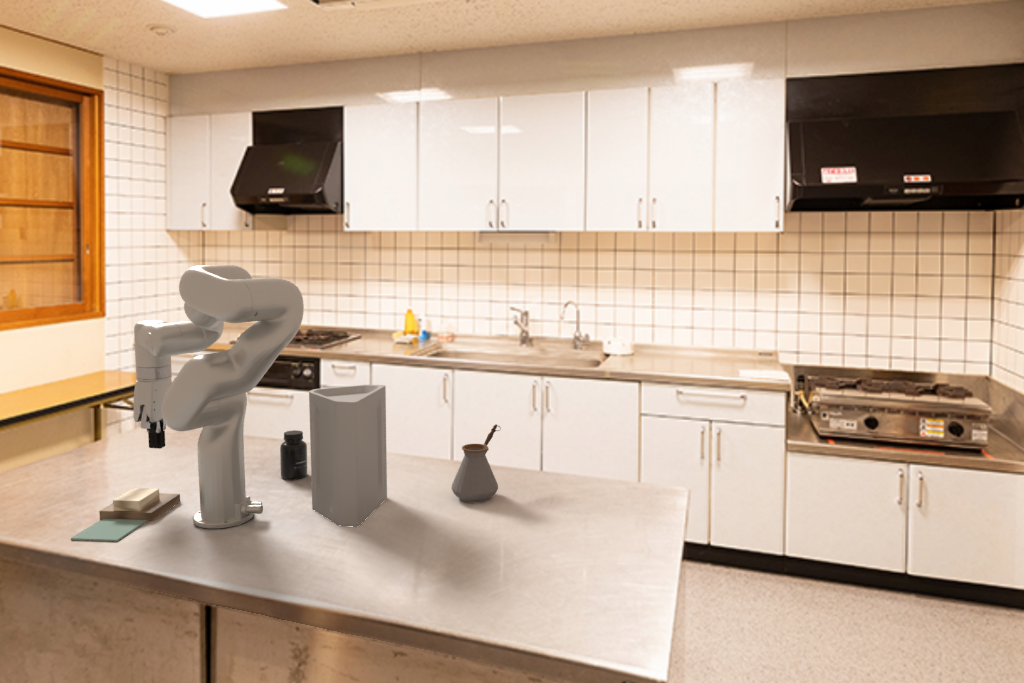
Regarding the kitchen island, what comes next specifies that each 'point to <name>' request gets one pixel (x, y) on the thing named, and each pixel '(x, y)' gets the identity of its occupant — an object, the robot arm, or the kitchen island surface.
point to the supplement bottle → (293, 456)
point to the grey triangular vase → (348, 452)
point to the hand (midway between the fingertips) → (157, 447)
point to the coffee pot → (475, 474)
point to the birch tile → (136, 499)
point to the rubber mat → (109, 530)
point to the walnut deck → (145, 514)
